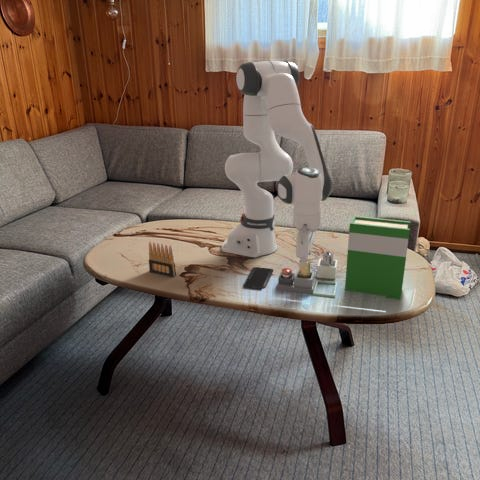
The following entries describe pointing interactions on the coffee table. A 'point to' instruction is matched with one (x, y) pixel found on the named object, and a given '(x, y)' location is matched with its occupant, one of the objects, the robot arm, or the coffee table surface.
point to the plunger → (286, 273)
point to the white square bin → (327, 270)
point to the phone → (258, 278)
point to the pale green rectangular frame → (324, 293)
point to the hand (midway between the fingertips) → (305, 259)
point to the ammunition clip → (161, 260)
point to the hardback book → (377, 256)
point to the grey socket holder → (297, 283)
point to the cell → (304, 270)
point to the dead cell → (327, 259)
